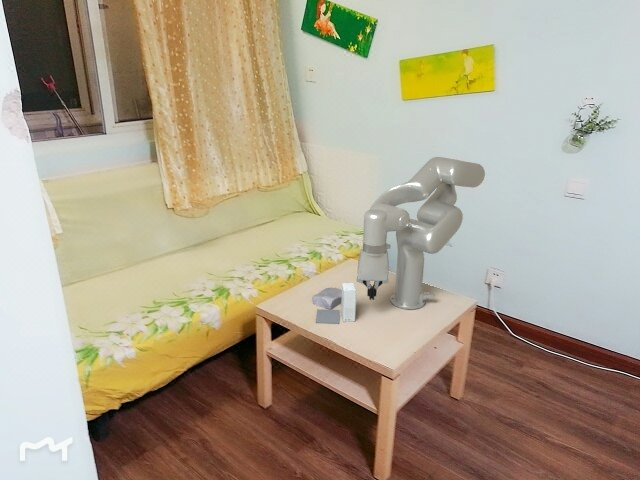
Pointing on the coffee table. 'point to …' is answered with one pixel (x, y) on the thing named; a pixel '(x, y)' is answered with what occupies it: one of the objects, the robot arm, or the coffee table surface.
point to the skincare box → (348, 302)
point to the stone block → (328, 298)
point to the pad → (327, 316)
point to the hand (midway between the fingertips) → (371, 297)
